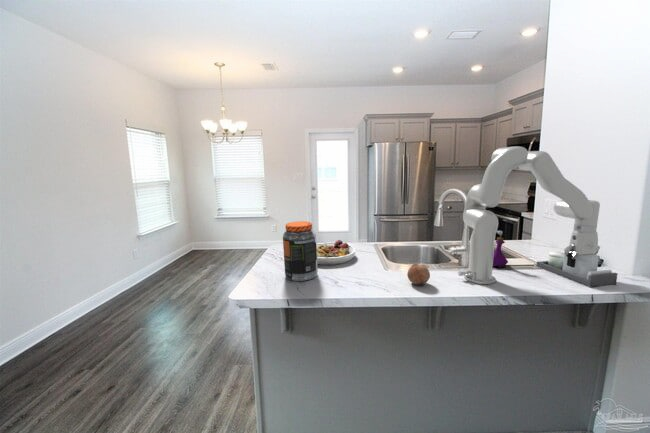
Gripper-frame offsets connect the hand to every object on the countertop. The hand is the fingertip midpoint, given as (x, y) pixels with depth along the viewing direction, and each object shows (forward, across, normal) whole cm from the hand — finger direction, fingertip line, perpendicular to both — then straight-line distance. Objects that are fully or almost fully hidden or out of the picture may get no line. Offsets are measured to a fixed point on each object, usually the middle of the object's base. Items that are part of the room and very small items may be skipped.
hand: (579, 265), depth 133 cm
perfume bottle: (+6, -24, +21) cm, 33 cm away
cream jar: (+5, 0, +11) cm, 12 cm away
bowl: (+6, -105, +54) cm, 118 cm away
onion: (+6, -73, +8) cm, 74 cm away
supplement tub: (+6, -123, +29) cm, 127 cm away
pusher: (+4, 0, -8) cm, 10 cm away
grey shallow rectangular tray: (+5, 0, +3) cm, 6 cm away
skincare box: (+5, 0, 0) cm, 5 cm away
